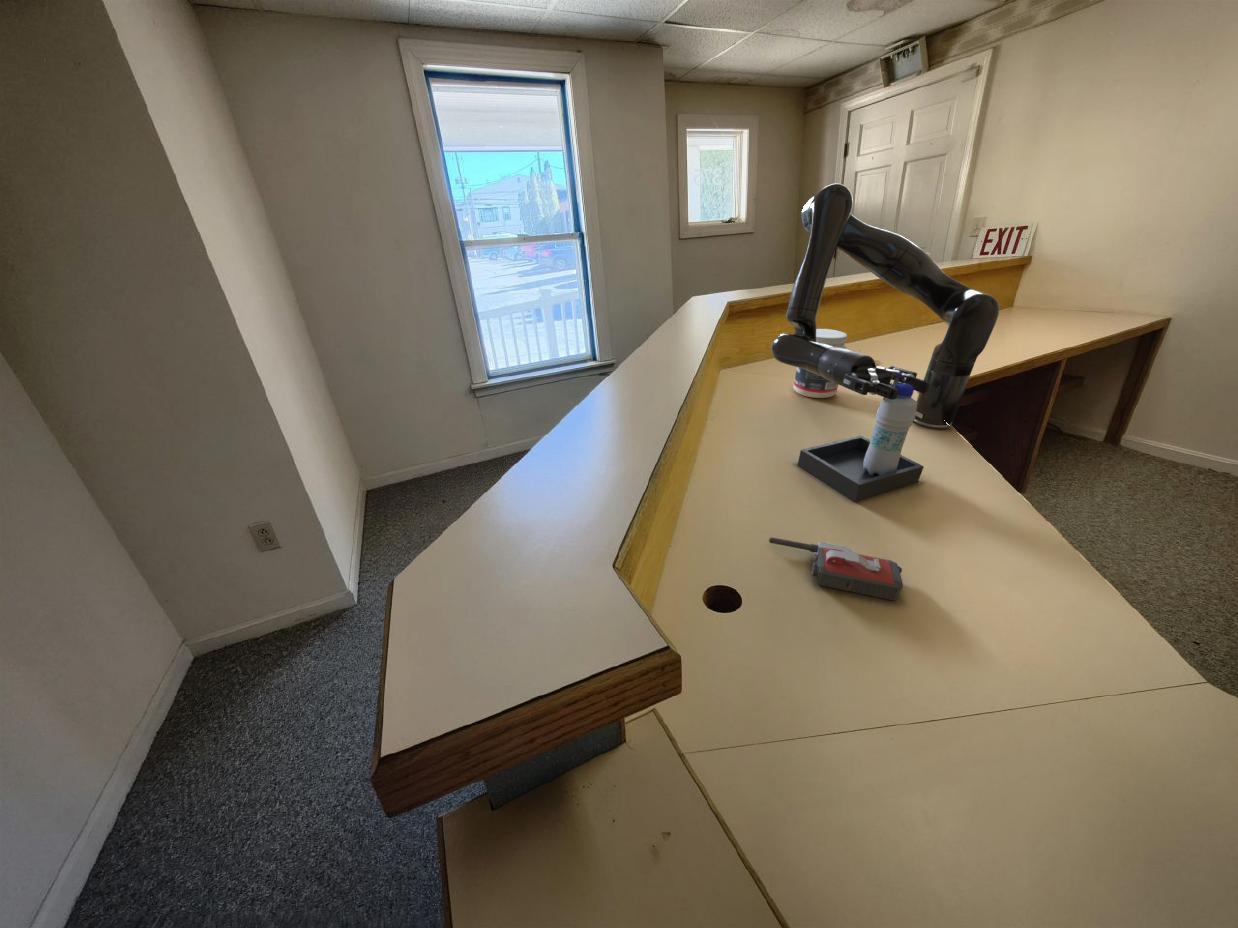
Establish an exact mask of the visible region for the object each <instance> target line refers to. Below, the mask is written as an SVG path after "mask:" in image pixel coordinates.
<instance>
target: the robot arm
mask: <svg viewBox="0 0 1238 928" xmlns="http://www.w3.org/2000/svg"><path fill="white" fill-rule="evenodd" d="M853 206H854V199H853V195H852V192H851V191H850V189H849V188H848V187H847V186H845V185H844V184H842V183H832V184H829V185H825V186H824V187H823V188H820V190H819V191H817V192H816V193H815V194H814V195H813V196H812V197H811V198H809V200H808V201H807V202H806V204H804V206H803V209H802V211H801V214H800V215H801V217H800V218H801V223H802V226H803V228H804V229H805V231H806V232H807V233H809V234H810V236H809V242H808V246H807V249H806V253H805V256H804V259H803V261H802V264H801V266H800V268H799V271H798V272H797V275H796V278H795V281H794V283H793V287H792V289H791V294H790V298H789V302H788V306H787V309H786V315H785V319H786V321H787V322H788V323H789V324H791V325H792V326H793V330H794V331H793V333H789V332H788V333H782V334H779V335H778V336H776V338H774V339H773V341H772V343H771V347H770V350H771V355H772V356H773V358H774V359H775V360H776V361H777V362H779V363H781V364H784V365H788V366H791V367H794V368H797V367H799V368H802V369H805V370H808V371H810V372H812V373H814V374H816V375H819V376H822V377H824V378H825V379H827V380H829V381H831V382H833V383H836V384H838V386H841V387H843V388H845V389H848V390H850V391H853V392H855V393H857V394H860V395H861V396H867V395H868V393H869V394H870V395H873V396H876V395H878V396H880V397H883V398H884V397H885V398H888V399H890V400H894V399H896V398H897V394H898V389H897V388H895V385H897V384H900V383H906V384H910V385H912V386H913V388H914V391H915V392H918V395H917V399H916V400H915V401H916V402H917V408H916V414H915V419H914V420H913V423H915V424H917V425H919V426H923V427H925V428H930V429H943V430H944V429H948V428H950V426H951V427H952V425H953V423H954V421H955V419H956V416H957V413H958V411H959V408H960V405H961V403H962V400H963V397H964V395H965V392H966V387H967V384H968V382H969V380H970V377H971V374H972V371H973V369H974V367H975V364H976V362H977V359H978V357H979V356H980V355H981V353H982V352H983V351H984V350H985V349H986V346H987V344H988V342H989V340H990V337H991V335H992V333H993V330H994V329H995V326H996V324H997V321H998V318H999V315H1000V303H999V301H998V300H997V298H996V297H994V296H993V295H991V294H989V293H985V292H983V291H980V290H977V289H974V288H972V287H969V286H967V285H966V284H963V283H961V282H960V281H958V280H956V279H954V278H952V277H951V276H950V275H948V274H947V273H945V272H944V271H943V270H942V269H941V267H939V265H938V264H937V262H936V261H935V260H933V258H932V257H931V256H930V255H929V254H928V253H927V252H925V250H923V249H922V248H920V247H919V246H918V245H916V244H915V243H913V242H912V241H910V239H907V238H905V237H904V236H902V235H901V234H898V233H895V232H892V231H889V230H886V229H882V228H879V227H875V226H872V225H869V224H867V223H865V222H862V220H860V219H858V218H857V217H855V216H854V215H853V214H852V210H853ZM837 249H838V250H840V252H843V253H844V254H846V255H847V256H848V257H850V258H851V259H852V260H854V261H855V262H856V263H858V264H859V265H860V266H862V267H863V268H865V269H866V270H867V271H869V272H871V274H873V275H874V276H876V278H878V279H880V280H881V281H883V282H885V283H886V284H887V285H889V286H891V287H892V288H894V289H895V290H897V291H899V292H901V293H903V294H905V295H907V296H910V297H912V298H914V299H916V300H918V301H920V302H921V303H922V304H923V305H925V306H926V307H927V308H929V310H931V311H932V312H933V313H934V314H935V315H936V316H938V317H939V318H940V320H942V321H943V322H944V323H945V324H946V325H947V326H948V327H947V330H946V333H945V335H944V338H943V340H942V341H941V343H938V344H936V345H935V346H934V348H933V351H932V353H931V357H930V359H929V363H928V365H927V369H926V372H925V374H924V377H923V379H921V378H918V377H917V376H918V373H917V372H916V371H911V370H908V369H905V368H901V367H898V366H894V365H889V366H888V368H886V367H884V366H877V365H876V363H875V362H876V361H875V359H874V358H873V357H871V356H870V355H867V354H863V353H860V352H857V351H855V350H851V349H848V348H847V349H844V348H838V347H834V346H831V345H828V344H824V343H818V342H816V329H817V316H818V313H819V310H820V305H821V302H822V299H823V298H822V297H823V294H824V293H823V292H824V289H825V285H826V282H827V278H828V274H829V271H830V268H831V265H832V262H833V258H834V256H835V253H836V250H837ZM891 381H893V382H891ZM944 420H945V421H944ZM946 422H947V423H948V424H949V425H950V426H949V425H947V424H946Z"/></svg>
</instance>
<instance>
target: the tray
mask: <svg viewBox="0 0 1238 928" xmlns="http://www.w3.org/2000/svg"><path fill="white" fill-rule="evenodd" d="M870 441H871V439H869V438H867V437H865V436H863V435H857V436H856V435H855V436H852V437H849V438H844V439H840V440H836V441H832V442H827V443H824V444H820V445H815V446H811V447H806V448H802V449H800V452H799V457H798V462H797V466H798V467H799V468H800V469H803V471H805V472H807V473H809V474H810V475H812V476H813V477H815V478H817V479H818V480H820V481H821V482H822V483H824V484H826V485H828V487H830V488H832V489H833V490H835V491H836V492H838V493H840V494H841V495H842V496H844V497H846V498H847V499H849V500H850V501H852V502H854V503H856V502H858V501H862V500H865V499H868V498H872V497H875V496H878V495H882V494H884V493H885V494H886V493H888V492H891V491H894V490H898V489H901V488H904V487H905V488H906V487H908V486H910V485H915V484H918V483H919V481H920V477H921V475H922V472H923V470H924V467H925V466H924V465H923V464H920V463H918V462H916V461H914V460H913V459H910V458H908V457H906V456H904V455H902V454H900V458H899V462H898V466H897V468H896V470H895V471H894V472H891V473H887V474H884V475H880V476H879V474H877V473H874V475H873V476H870V475H869V472H865V471H864V469H863V462H864V458H865V455H866V452H867V450H868V447H869V445H870Z"/></svg>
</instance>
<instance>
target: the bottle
mask: <svg viewBox="0 0 1238 928" xmlns="http://www.w3.org/2000/svg"><path fill="white" fill-rule="evenodd" d="M895 388H897V389H898V394H897V398H896V399H894V400H890V399H888V398H885V397H883V398H882V400H881V402H880V404H879V406H878V409H877V410H876V416H875V420H876V421H875V424H874V428H873V431H872V434H871V438H870V440H871V441H870V445H869V447H868V450H867V452H866V455H865V458H864V462H863V469H864V471H865V472H869V475H870V476H873V475H874V473H877V474H879V476H880V475H884V474H887V473H891V472H894V471H895V470H896V468H897V466H898V462H899V458H900V455H902V450H903V447H904V444H905V442H906V438H907V435H908V433H909V430H910V427H911V426H912V425H913V424H914V422H913V420H914V419H915V414H916V408H917V402H916V401H917V400H915V399H914V398H913V394H914V391H915V390H914V388H913V386H912V385H910V384H906V383H901V382H900V384H897V385H895Z"/></svg>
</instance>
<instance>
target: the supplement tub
mask: <svg viewBox="0 0 1238 928" xmlns="http://www.w3.org/2000/svg"><path fill="white" fill-rule="evenodd" d="M847 339H848V334H847V333H846V332H845V331H841V330H836V329H830V328H816V342H818V343H824V344H828V345H831V346H834V347H838V348H844V349H848V348H847V345H846V344H845V343H847V341H848V340H847ZM792 387H793V390H794V391H795V392H796V393H797V394H799V395H800V396H804V397H807V398H812V399H813V398H814V399H826V398H830V397H833V396H835V395H836V393H837V392H838V389H839V384H836V383H833V382H831V381H829V380H827V379H825V378H824V377H822V376H819V375H816V374H814V373H812V372H810V371H808V370H805V369H802V368H799V367H796V370H795V374H794V380H793V384H792Z"/></svg>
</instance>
